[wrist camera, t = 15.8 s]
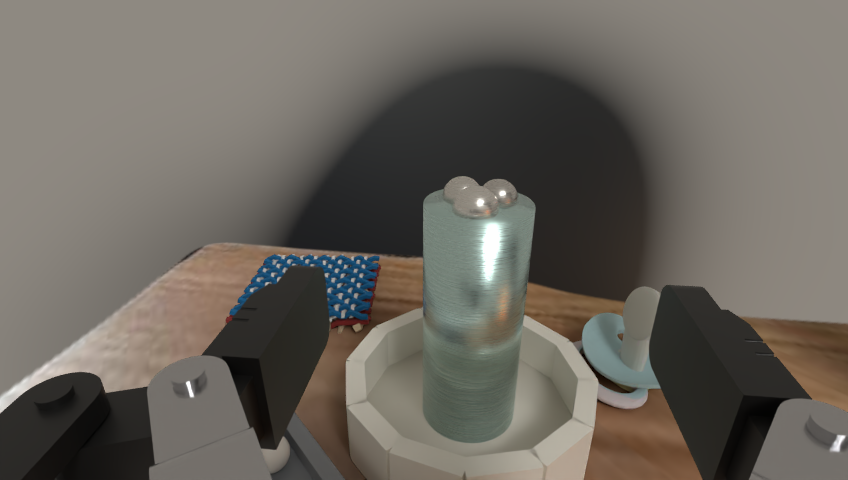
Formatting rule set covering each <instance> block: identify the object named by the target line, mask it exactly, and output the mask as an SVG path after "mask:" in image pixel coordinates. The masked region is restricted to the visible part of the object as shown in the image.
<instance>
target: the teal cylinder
mask: <svg viewBox="0 0 848 480" xmlns="http://www.w3.org/2000/svg"><path fill="white" fill-rule="evenodd" d="M423 208H424V209H423V414H424V417H425V419H426V421H427V422H428V424H429V425H430V426H431V427H432V428H433V429H434V430H435V431H436V432H437V433H439V434H440V435H442V436H444V437H446V438H448V439H451V440H454V441H458V442H463V443H481V442H486V441H490V440H492V439H495V438H497V437H498V436H500V435H502V434H503V433H504V432H505V431H506V430H507V429H508V428H509V426H510V425H511V422H512V420H513V414H514V405H515V396H516V386H517V377H518V367H519V358H520V349H521V339H522V330H523V320H524V311H525V302H526V292H527V283H528V273H529V263H530V254H531V245H532V235H533V226H534V217H535V204H534V203H533V201H531V200H530V199H529V198H527V197H526V196H524V195H522V194H519V193H517V192H516V189H515V188H514V186H513V185H512V184H511V183H509V182H508V181H506V180H502V179H494V180H491V181H488V182H487V183H486V184H484V185H483V186H479V185H478V183H477V182H476V181H475V180H473V179H471V178H469V177H465V176H460V177H456V178H454V179H452V180H450V181H449V182H448V183H447V185H446V186H445V188H444V189H443V190H439V191H436V192H433V193H432V194H430V195H428V196H427V197H426V198H425V200H424V205H423Z"/></svg>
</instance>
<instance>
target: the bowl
mask: <svg viewBox="0 0 848 480" xmlns="http://www.w3.org/2000/svg"><path fill="white" fill-rule="evenodd" d="M598 383H599V382H598V379H597V377H596V376H595V375H594V373H593V372H592V370H591V369H590V368H589V366H588V365H587V363H586V362H585V360H584V359H583V358H582V356H581V355H580V353H579V352H578V350H577V349H576V348H575V346H574V345H573V343H572V342H569V339H567V338H565V337H563V336H561V335H560V334H558V333H556V332H554V331H553V330H551V329H549V328H547V327H546V326H544V325H542V324H540V323H539V322H537V321H535V320H533V319H532V318H530V317H528V316H526V315H525V316H524V320H523V330H522V339H521V349H520V358H519V367H518V377H517V386H516V396H515V405H514V414H513V420H512V422H511V425H510V426H509V428H508V429H507V430H506V431H505V432H504V433H503V434H502V435H500V436H498V437H497V438H495V439H492V440H490V441H486V442H481V443H463V442H458V441H454V440H451V439H448V438H446V437H444V436H442V435H440V434H439V433H437V432H436V431H435V430H434V429H433V428H432V427H431V426H430V425H429V424H428V422H427V421H426V419H425V417H424V414H423V307H421V309H419V308H417V309H415V310H412V311H410V312H408V313H405V314H403V315H401V316H398V317H396V318H394V319H391V320H389V321H386V322H384V323H382V324H379V325H377V326H376V328H375V327H374V328H373V329H372V330H371V331H370V332H369V334H368V335H367V336H366V337H365V338H364V340H363V341H362V342H361V343H360V344H359V345H358V347H357V348H356V349H355V350H354V351H353V353H352V354H351V355H350V356H349V357H348V358H347V361H346V409H347V423H348V436H349V449H350V457H351V460H352V462H353V463H354V464H355V465H356V467H357V468H358V469H359V470H360V472H361V473H362V474H363V475H364V477H365V478H366V479H367V480H584V475H585V470H586V465H587V460H588V455H589V450H590V445H591V441H592V436H593V431H594V425H595V414H596V404H597V394H598Z"/></svg>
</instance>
